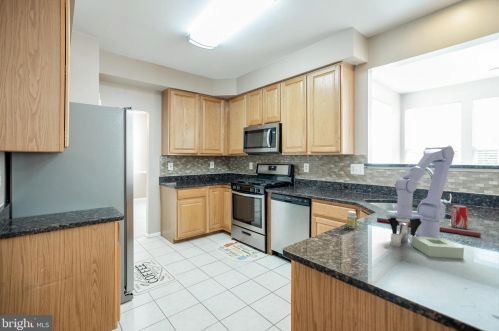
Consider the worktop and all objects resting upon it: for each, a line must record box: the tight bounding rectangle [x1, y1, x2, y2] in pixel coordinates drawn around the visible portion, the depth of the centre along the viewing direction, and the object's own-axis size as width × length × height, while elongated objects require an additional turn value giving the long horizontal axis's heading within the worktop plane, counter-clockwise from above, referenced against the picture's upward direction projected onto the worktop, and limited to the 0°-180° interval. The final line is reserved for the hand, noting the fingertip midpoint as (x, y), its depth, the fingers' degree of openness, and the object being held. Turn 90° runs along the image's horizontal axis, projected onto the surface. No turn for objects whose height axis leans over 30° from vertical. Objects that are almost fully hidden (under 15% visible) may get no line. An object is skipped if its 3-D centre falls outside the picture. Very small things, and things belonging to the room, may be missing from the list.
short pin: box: [390, 233, 402, 248], centre depth 104 cm, size 4×4×4 cm
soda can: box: [450, 204, 469, 229], centre depth 134 cm, size 7×7×12 cm
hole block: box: [411, 235, 465, 260], centre depth 97 cm, size 12×12×4 cm
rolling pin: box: [376, 217, 482, 238], centre depth 131 cm, size 45×3×3 cm, turn 54°
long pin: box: [398, 223, 410, 244], centre depth 109 cm, size 4×4×8 cm
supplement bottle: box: [346, 210, 358, 229], centre depth 130 cm, size 5×5×8 cm
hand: (403, 234), depth 109 cm, fingers open, 7 cm apart
